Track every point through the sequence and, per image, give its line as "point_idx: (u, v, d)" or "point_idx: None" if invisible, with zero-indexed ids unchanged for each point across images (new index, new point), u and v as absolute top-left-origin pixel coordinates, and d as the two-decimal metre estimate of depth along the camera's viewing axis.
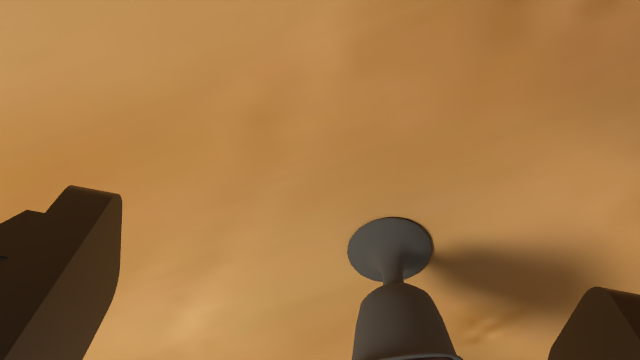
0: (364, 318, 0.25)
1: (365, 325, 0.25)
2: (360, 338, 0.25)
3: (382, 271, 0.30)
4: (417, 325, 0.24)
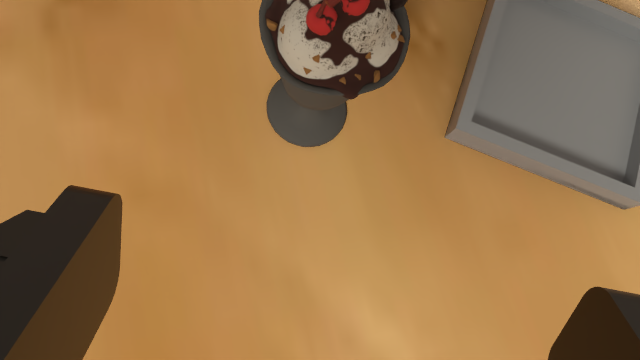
0: (291, 90, 0.26)
1: (290, 84, 0.26)
2: None
3: None
4: None
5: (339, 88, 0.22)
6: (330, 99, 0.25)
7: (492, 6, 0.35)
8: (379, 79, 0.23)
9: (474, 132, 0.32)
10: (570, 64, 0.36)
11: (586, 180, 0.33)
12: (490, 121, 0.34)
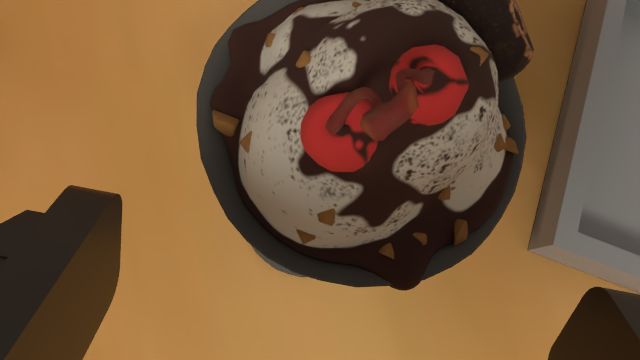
0: None
1: None
2: None
3: None
4: None
5: (379, 269, 0.10)
6: None
7: (597, 39, 0.22)
8: (466, 238, 0.10)
9: (583, 251, 0.20)
10: None
11: None
12: (600, 223, 0.21)
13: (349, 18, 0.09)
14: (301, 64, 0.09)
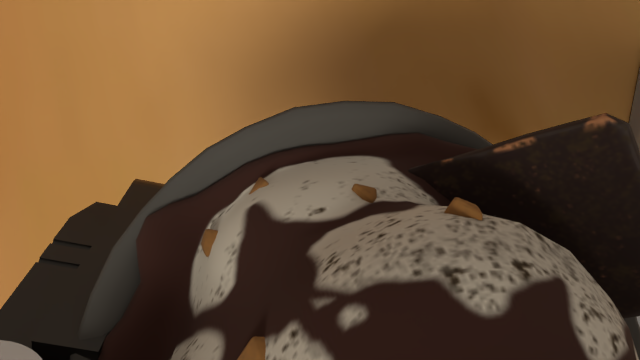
0: None
1: None
2: None
3: None
4: None
5: None
6: None
7: None
8: None
9: None
10: None
11: None
12: None
13: (345, 288, 0.04)
14: None
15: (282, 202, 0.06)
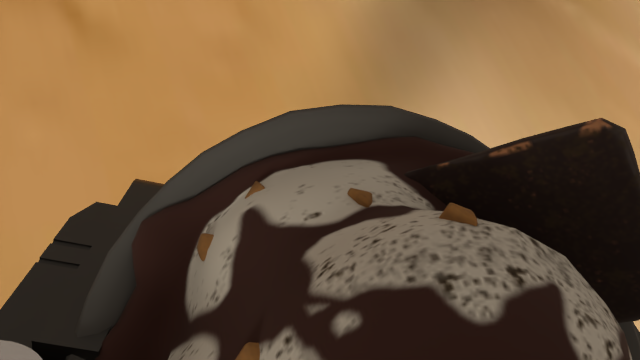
0: None
1: None
2: None
3: None
4: None
5: None
6: None
7: None
8: None
9: None
10: None
11: None
12: None
13: (339, 294, 0.04)
14: None
15: (278, 206, 0.06)
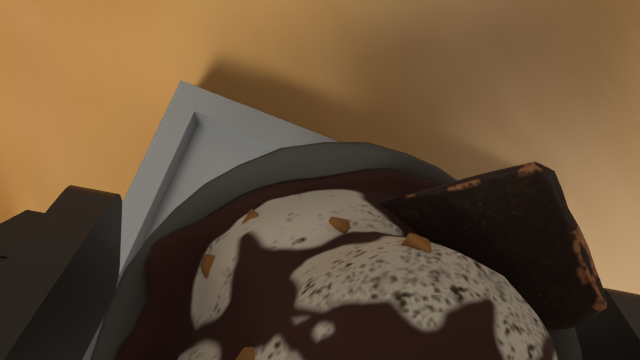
0: None
1: None
2: None
3: None
4: None
5: None
6: None
7: None
8: None
9: None
10: None
11: None
12: None
13: (318, 308, 0.05)
14: None
15: (270, 232, 0.07)
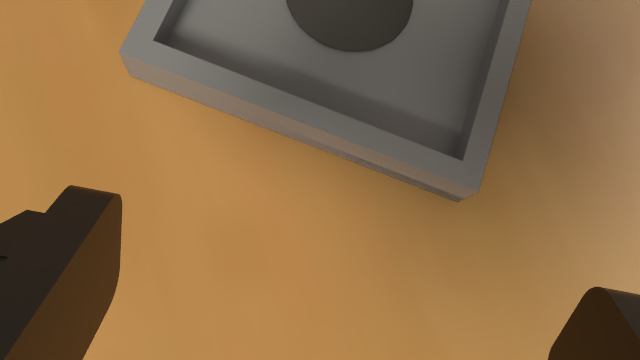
0: None
1: None
2: None
3: None
4: None
5: None
6: None
7: None
8: None
9: (155, 60, 0.17)
10: None
11: (369, 147, 0.18)
12: (213, 46, 0.19)
13: None
14: None
15: None
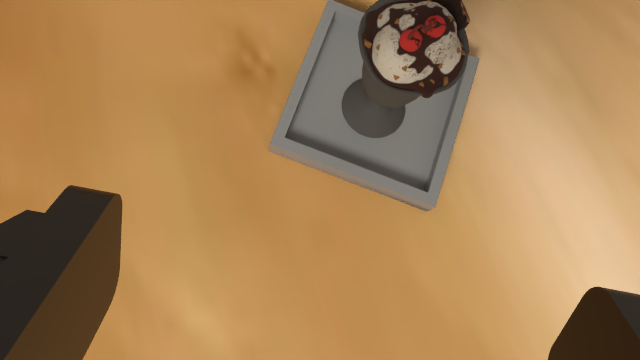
0: (374, 92, 0.34)
1: (374, 88, 0.33)
2: (380, 89, 0.33)
3: (376, 103, 0.39)
4: None
5: (419, 90, 0.30)
6: (405, 98, 0.33)
7: (313, 37, 0.40)
8: (447, 83, 0.31)
9: (286, 147, 0.38)
10: None
11: (384, 186, 0.38)
12: (308, 136, 0.39)
13: (411, 8, 0.29)
14: (396, 22, 0.29)
15: (396, 7, 0.31)
